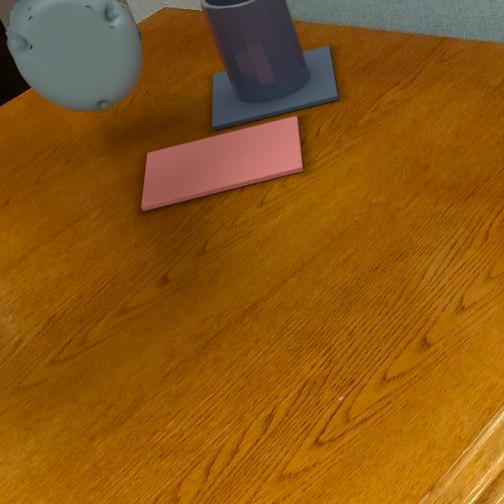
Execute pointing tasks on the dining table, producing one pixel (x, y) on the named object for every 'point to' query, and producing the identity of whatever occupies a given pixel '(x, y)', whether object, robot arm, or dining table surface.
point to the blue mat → (313, 93)
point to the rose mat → (222, 163)
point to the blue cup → (257, 47)
